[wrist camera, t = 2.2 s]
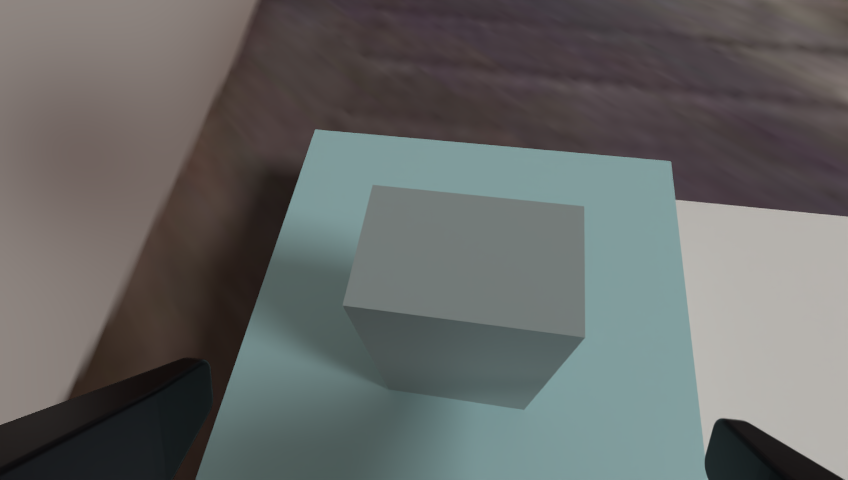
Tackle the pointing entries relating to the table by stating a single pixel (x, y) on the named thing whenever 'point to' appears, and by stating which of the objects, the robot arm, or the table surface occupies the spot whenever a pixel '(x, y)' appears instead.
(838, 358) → the grey mat
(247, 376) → the teal lid
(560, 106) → the table surface
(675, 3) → the table surface
